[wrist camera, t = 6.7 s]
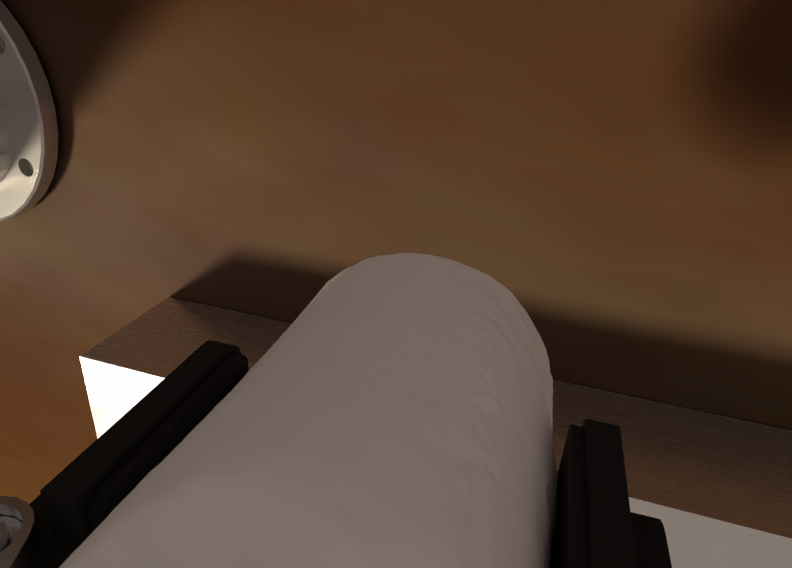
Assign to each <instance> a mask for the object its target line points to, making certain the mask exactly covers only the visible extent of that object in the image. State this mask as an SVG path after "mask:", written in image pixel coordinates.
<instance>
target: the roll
mask: <svg viewBox="0 0 792 568" xmlns="http://www.w3.org/2000/svg"><path fill="white" fill-rule="evenodd" d="M552 397H553V378H552V376H551V373H550V362H549V358H548V355H547V351H546V348H545V346H544V343H543V341H542V339H541V337H540V334H539V333H538V331H537V329H536V328H535V326H534V324H533V322H532V320H531V318H530V317H529V315H528V314H527V312H526V311H525V309H524V308H523V307H522V306H521V304H520V303H519V302H518V300H517V298H516V297H515V296H514V295H513V293H512V292H511V291H510V290H508V289H507V288H506V287H504V286H503V285H502V284H501V283H499V282H498V281H496V280H495V279H493V278H492V277H491V276H489V275H487V274H485V273H483V272H481V271H479V270H476V269H474V268H472V267H470V266H467V265H464V264H461V263H459V262H456V261H454V260H450V259H447V258H444V257H438V256H433V255H427V254H418V253H397V254H392V255H380V256H376V257H373V258H368V259H365V260H363V261H361V262H359V263H357V264H355V265H353V266H351V267H348V268H346V269H344V270H343V271H341V272H340V273H338V274H337V275H336V276H335V277H333V278H332V279H331V280H329V281H328V282H327V283H326V284H325V285H324V286H323V288H322V289H321V290H320V291H319V292H318V294H317V295H316V296H315V297H314V299H313V300H312V301H311V302H310V303H309V305H308V306H307V307H306V308H305V309H304V310H303V311H302V313H301V314H300V315H299V316H298V317H297V318H296V320H295V321H294V322H293V323H292V324H291V325H290V326H289V328H288V329H287V330H286V331H285V332H284V333H283V334H282V335H281V336H280V338H279V339H278V340H277V341H276V342H275V343H274V344H273V345H272V346H271V348H270V349H269V350H268V351H267V352H266V353H265V354H264V355H263V357H262V358H260V359H259V360H258V362H257V363H256V364H255V365H254V366H253V367H252V368H251V369H250V370H249V371H248V373H247V374H246V375H245V376H244V377H243V379H242V380H241V381H240V382H239V383H238V384H237V385H236V386H235V387H234V388H233V390H232V391H231V392H230V393H228V394H227V396H226V397H225V398H224V399H223V400H221V401H220V402H219V403H218V404H217V405H216V406H215V407H214V409H213V410H212V411H211V412H210V413H209V414H208V415H207V416H206V417H205V418H204V419H203V420H202V421H201V422H200V423H199V424H198V425H197V426H196V427H195V428H194V429H193V430H192V431H191V432H190V433H189V434H188V435H187V436H186V437H185V438H184V439H183V441H182V442H181V443H180V444H179V445H178V446H177V447H175V449H174V450H173V451H172V452H171V453H170V454H169V455H168V456H167V457H166V458H165V459H164V460H163V461H162V462H161V463H160V464H159V465H157V466H156V467H155V468H154V469H152V470H151V471H150V472H149V473H148V474H147V475H146V476H145V477H144V478H143V479H142V480H141V481H140V483H139V484H138V485H137V486H136V487H135V489H133V490H132V491H131V492H130V493H129V494H128V495H127V496H126V497H125V498H124V499H123V500H122V501H121V502H120V503H119V504H118V506H117V507H116V508H115V509H114V510H113V511H112V512H111V513H110V514H109V515H108V516H107V518H106V519H105V520H104V521H103V522H102V523H101V524H100V525H99V526H98V527H97V528H96V529H95V530H94V531H93V532H92V533H91V534H90V535H89V536H88V538H87V539H86V540H85V541H84V542H83V543H82V544H81V545H80V546H79V547H78V548H77V549H76V550H75V551H74V552H73V553H72V554H71V555H70V556H69V557H68V558H67V559H66V560H65V562H64V563H63V564H62V565H61V566H60V567H59V568H549V566H550V560H551V553H552V544H553V534H554V529H555V525H556V514H557V482H558V474H557V468H556V461H555V455H554V446H553V436H552V426H553V421H552V411H553V400H552Z"/></svg>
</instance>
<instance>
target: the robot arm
mask: <svg viewBox="0 0 792 568" xmlns="http://www.w3.org/2000/svg"><path fill="white" fill-rule="evenodd" d="M57 159H58V126H57V118H56V110H55V106H54V102H53V98H52V95H51V91H50V87H49V84H48V81H47V78H46V76H45V73H44V71H43V69H42V66H41V64H40V61H39V59H38V56H37V54H36V52H35V51H34V49H33V47H32V45H31V44H30V42H29V40H28V38H27V37H26V35H25V33H24V31H23V30H22V28H21V26H20V25H19V24H18V22H17V21H16V20H15V18H14V17H13V16H12V14H11V13H10V12H9V10H8V9H7V8H6V6H5V5H4V4H3V2H2V1H1V0H0V221H3V220H6V219H9V218H12V217H15V216H18V215H21V214H22V213H24V212H26V211H27V210H29V209H31V208H32V207H34V206H35V205H36V204H37V203H38V202H39V200H40V199H41V198H42V197H43V196H44V195H45V193H46V191H47V189H48V187H49V185H50V183H51V181H52V179H53V176H54V172H55V167H56V163H57ZM248 371H249V367H248V359H247V357H246V356H245V355H242V354H241V350H240V349H239V347H238V346H236V345H231V344H227V343H222V342H217V341H212V340H209V341H206V342H205V343H203V344H202V345H201V346H200V347H199V348H198V349H197V350H195V351H194V352H193V353H192V354H191V355H190V356H189V357H188V358H187V359H186V360H184V361H183V362H182V363H181V364H180V365H179V366H178V367H177V368H176V369H174V370H173V371H172V372H171V373H170V374H169V375H168V376H167V377H166V378H164V379H163V380H162V381H161V382H160V383H159V384H158V385H157V386H156V387H155V388H153V389H152V390H151V391H150V392H149V393H148V394H147V395H146V396H145V397H143V398H142V399H141V400H140V401H139V402H138V403H137V404H136V405H135V406H133V407H132V408H131V409H130V410H129V411H128V412H127V413H126V414H125V415H124V416H122V417H121V418H120V419H119V420H118V421H117V422H116V423H115V424H114V425H112V426H111V427H110V428H109V429H108V430H107V431H106V432H105V433H104V434H102V435H101V436H100V437H99V438H98V439H97V440H96V441H95V442H94V443H93V444H91V445H90V446H89V447H88V448H87V449H86V450H85V451H84V452H83V453H81V454H80V455H79V456H78V457H77V458H76V459H75V460H74V461H73V462H71V463H70V464H69V465H68V466H67V467H66V468H65V469H64V470H63V471H62V472H60V473H59V474H58V475H57V476H56V477H55V478H54V479H53V480H52V481H50V482H49V483H48V484H47V485H46V486H45V487H44V488H43V489H42V490H41V491H40V492H41V494H40V495H39V496H38V497H37V498H36V499H35V500H34V501H33V502H31V503H30V504H28V503H27V502H26V501H24V500H21V499H19V498H17V497H8V496H0V568H59V567H60V566H61V565H62V564H63V563H64V562H65V560H66V559H67V558H68V557H69V556H70V555H71V554H72V553H73V552H74V551H75V550H76V549H77V548H78V547H79V546H80V545H81V544H82V543H83V542H84V541H85V540H86V539H87V538H88V536H89V535H90V534H91V533H92V532H93V531H94V530H95V529H96V528H97V527H98V526H99V525H100V524H101V523H102V522H103V521H104V520H105V519H106V518H107V516H108V515H109V514H110V513H111V512H112V511H113V510H114V509H115V508H116V507H117V506H118V504H119V503H120V502H121V501H122V500H123V499H124V498H125V497H126V496H127V495H128V494H129V493H130V492H131V491H132V490H133V489H135V487H136V486H137V485H138V484H139V483H140V481H141V480H142V479H143V478H144V477H145V476H146V475H147V474H148V473H149V472H150V471H151V470H152V469H154V468H155V467H156V466H157V465H159V464H160V463H161V462H162V461H163V460H164V459H165V458H166V457H167V456H168V455H169V454H170V453H171V452H172V451H173V450H174V449H175V447H177V446H178V445H179V444H180V443H181V442H182V441H183V439H184V438H185V437H186V436H187V435H188V434H189V433H190V432H191V431H192V430H193V429H194V428H195V427H196V426H197V425H198V424H199V423H200V422H201V421H202V420H203V419H204V418H205V417H206V416H207V415H208V414H209V413H210V412H211V411H212V410H213V409H214V407H215V406H216V405H217V404H218V403H219V402H220V401H221V400H223V399H224V398H225V397H226V396H227V394H228V393H230V392H231V391H232V390H233V388H234V387H235V386H236V385H237V384H238V383H239V382H240V381H241V380H242V379H243V377H244V376H245V375H246V374H247V373H248ZM549 568H672V565H671V560H670V554H669V549H668V543H667V538H666V533H665V529H664V525H663V523H662V521H661V520H660V519H658V518H654V517H649V516H645V515H641V514H637V513H633V512H630V504H629V496H628V487H627V479H626V471H625V463H624V454H623V446H622V438H621V430H620V427H619V425H614V424H610V423H605V422H600V421H595V420H591V419H586V418H585V419H584V420H583V422H582V426H577V425H572V424H570V426H569V429H568V433H567V437H566V441H565V445H564V450H563V454H562V458H561V462H560V466H559V470H558V482H557V514H556V525H555V529H554V534H553V544H552V553H551V560H550V566H549Z"/></svg>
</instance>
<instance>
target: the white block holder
mask: <svg viewBox="0 0 792 568" xmlns="http://www.w3.org/2000/svg"><path fill="white" fill-rule="evenodd" d="M291 324H292V323H289V322H285V321H280V320H275V319H271V318H266V317H261V316H257V315H252V314H247V313H243V312H238V311H233V310H229V309H224V308H219V307H215V306H210V305H205V304H201V303H196V302H192V301H187V300H182V299H178V298H173V297H168V298H166V299H165V300H163V301H162V302H160V303H159V304H157V305H156V306H154V307H153V308H151V309H150V310H148V311H147V312H145V313H144V314H142V315H141V316H139V317H138V318H136V319H135V320H133V321H132V322H130V323H129V324H127V325H126V326H124V327H123V328H121V329H120V330H118V331H117V332H115V333H114V334H112V335H111V336H109V337H108V338H106V339H105V340H103V341H102V342H100V343H99V344H97V345H96V346H94V347H93V348H91V349H90V350H88V351H87V352H85V353H84V354H82V355H81V356H79V357H80V362H81V366H82V370H83V375H84V379H85V384H86V388H87V393H88V397H89V402H90V406H91V411H92V415H93V420H94V424H95V429H96V433H97V438H99V437H100V436H101V435H102V434H104V433H105V432H106V431H107V430H108V429H109V428H110V427H111V426H112V425H114V424H115V423H116V422H117V421H118V420H119V419H120V418H121V417H122V416H124V415H125V414H126V413H127V412H128V411H129V410H130V409H131V408H132V407H133V406H135V405H136V404H137V403H138V402H139V401H140V400H141V399H142V398H143V397H145V396H146V395H147V394H148V393H149V392H150V391H151V390H152V389H153V388H155V387H156V386H157V385H158V384H159V383H160V382H161V381H162V380H163V379H164V378H166V377H167V376H168V375H169V374H170V373H171V372H172V371H173V370H174V369H176V368H177V367H178V366H179V365H180V364H181V363H182V362H183V361H184V360H186V359H187V358H188V357H189V356H190V355H191V354H192V353H193V352H194V351H195V350H197V349H198V348H199V347H200V346H201V345H202V344H203V343H205V342H206V341H209V340H212V341H217V342H222V343H227V344H231V345H236V346H238V347H239V349H240V350H241V354H242V355H245V356H246V357H247V359H248V367H249V370H250V369H251V368H252V367H253V366H254V365H255V364H256V363H257V362H258V360H259V359H260V358H262V357H263V355H264V354H265V353H266V352H267V351H268V350H269V349H270V348H271V346H272V345H273V344H274V343H275V342H276V341H277V340H278V339H279V338H280V336H281V335H282V334H283V333H284V332H285V331H286V330H287V329H288V328H289V326H290V325H291ZM552 400H553V411H552V421H553V426H552V436H553V446H554V455H555V461H556V468H557V474H558V470H559V466H560V462H561V458H562V454H563V450H564V445H565V441H566V437H567V433H568V429H569V426H570V424H572V425H577V426H582V422H583V420H584V419H585V418H586V419H591V420H595V421H600V422H605V423H610V424H614V425H619V427H620V430H621V438H622V446H623V454H624V463H625V471H626V479H627V487H628V496H629V504H630V512H633V513H637V514H641V515H645V516H649V517H654V518H658V519H660V520H661V521H662V523H663V525H664V529H665V533H666V538H667V543H668V549H669V554H670V560H671V565H672V568H792V430H787V429H782V428H778V427H773V426H768V425H764V424H759V423H754V422H750V421H745V420H740V419H736V418H731V417H727V416H722V415H717V414H713V413H708V412H703V411H699V410H694V409H689V408H685V407H680V406H675V405H671V404H666V403H661V402H657V401H652V400H647V399H643V398H638V397H633V396H629V395H624V394H620V393H615V392H610V391H606V390H601V389H596V388H592V387H587V386H582V385H578V384H573V383H568V382H564V381H559V380H554V379H553V397H552Z"/></svg>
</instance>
